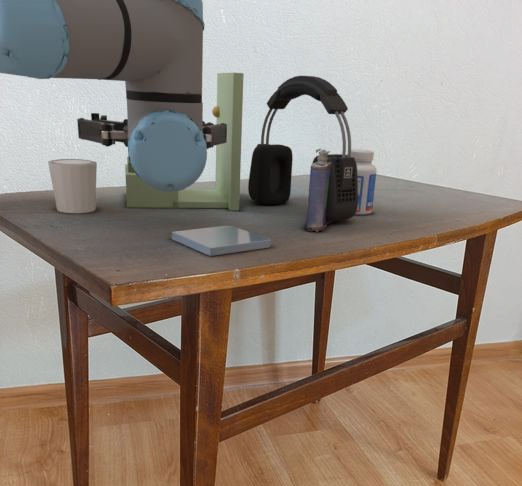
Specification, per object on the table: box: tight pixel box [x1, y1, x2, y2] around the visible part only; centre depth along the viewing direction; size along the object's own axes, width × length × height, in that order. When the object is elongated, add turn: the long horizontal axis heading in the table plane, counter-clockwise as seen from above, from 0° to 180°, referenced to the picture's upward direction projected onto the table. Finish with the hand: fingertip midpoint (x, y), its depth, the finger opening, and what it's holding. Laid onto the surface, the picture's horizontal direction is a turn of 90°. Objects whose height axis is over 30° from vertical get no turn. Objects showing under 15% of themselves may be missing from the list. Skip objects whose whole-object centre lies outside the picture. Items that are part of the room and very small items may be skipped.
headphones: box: [247, 75, 358, 222], centre depth 92 cm, size 22×6×20 cm, turn 36°
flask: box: [305, 148, 332, 233], centre depth 85 cm, size 9×3×11 cm, turn 162°
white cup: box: [47, 158, 98, 214], centre depth 88 cm, size 7×7×7 cm
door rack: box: [124, 72, 245, 212], centre depth 96 cm, size 18×16×20 cm
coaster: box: [171, 224, 272, 257], centre depth 75 cm, size 9×9×1 cm
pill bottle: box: [351, 148, 377, 216], centre depth 96 cm, size 6×5×10 cm
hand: (151, 126), depth 89 cm, fingers open, 13 cm apart
